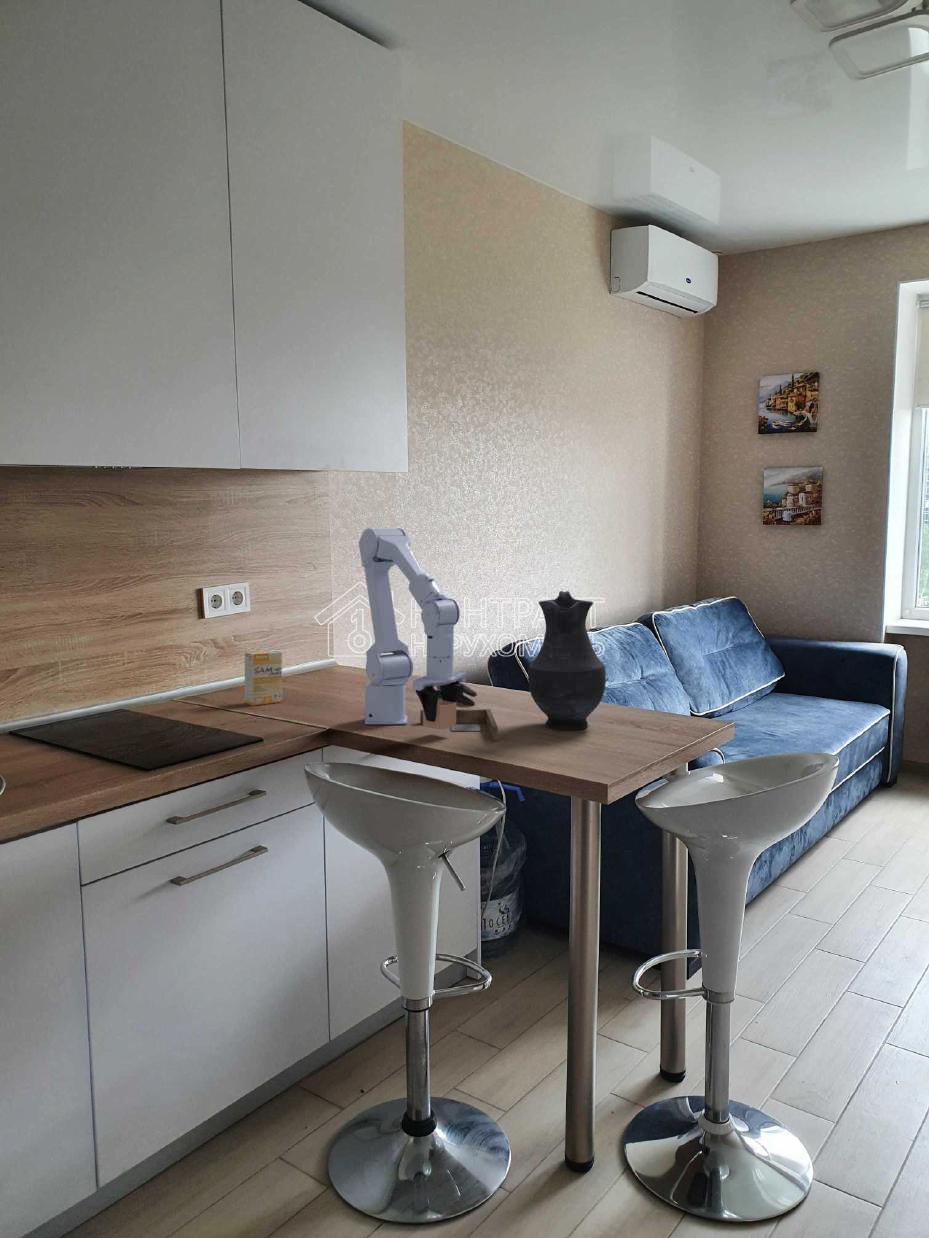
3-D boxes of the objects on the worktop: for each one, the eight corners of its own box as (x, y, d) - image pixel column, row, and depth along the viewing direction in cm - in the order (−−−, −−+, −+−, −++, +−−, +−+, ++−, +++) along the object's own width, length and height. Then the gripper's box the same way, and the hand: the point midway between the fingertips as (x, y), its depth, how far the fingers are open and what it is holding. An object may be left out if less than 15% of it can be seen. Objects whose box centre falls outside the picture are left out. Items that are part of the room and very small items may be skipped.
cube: (440, 729, 195) (440, 706, 194) (423, 725, 198) (423, 702, 198) (456, 725, 198) (456, 702, 198) (439, 722, 202) (439, 699, 201)
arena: (421, 741, 193) (421, 727, 193) (420, 722, 212) (420, 709, 211) (497, 741, 194) (497, 727, 194) (490, 722, 213) (490, 709, 212)
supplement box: (253, 706, 228) (252, 653, 227) (244, 703, 232) (243, 651, 231) (283, 702, 233) (282, 651, 232) (274, 699, 237) (273, 648, 236)
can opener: (429, 695, 245) (429, 674, 244) (453, 693, 248) (453, 673, 247) (461, 708, 229) (461, 685, 229) (485, 705, 232) (486, 683, 232)
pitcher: (528, 734, 201) (530, 596, 198) (526, 713, 222) (528, 589, 219) (608, 735, 200) (611, 597, 197) (598, 715, 221) (601, 589, 218)
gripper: (430, 662, 189) (429, 727, 190) (476, 654, 199) (475, 716, 201) (405, 658, 193) (405, 721, 195) (452, 651, 204) (451, 711, 206)
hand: (439, 718), depth 198 cm, fingers closed on cube, 5 cm apart
